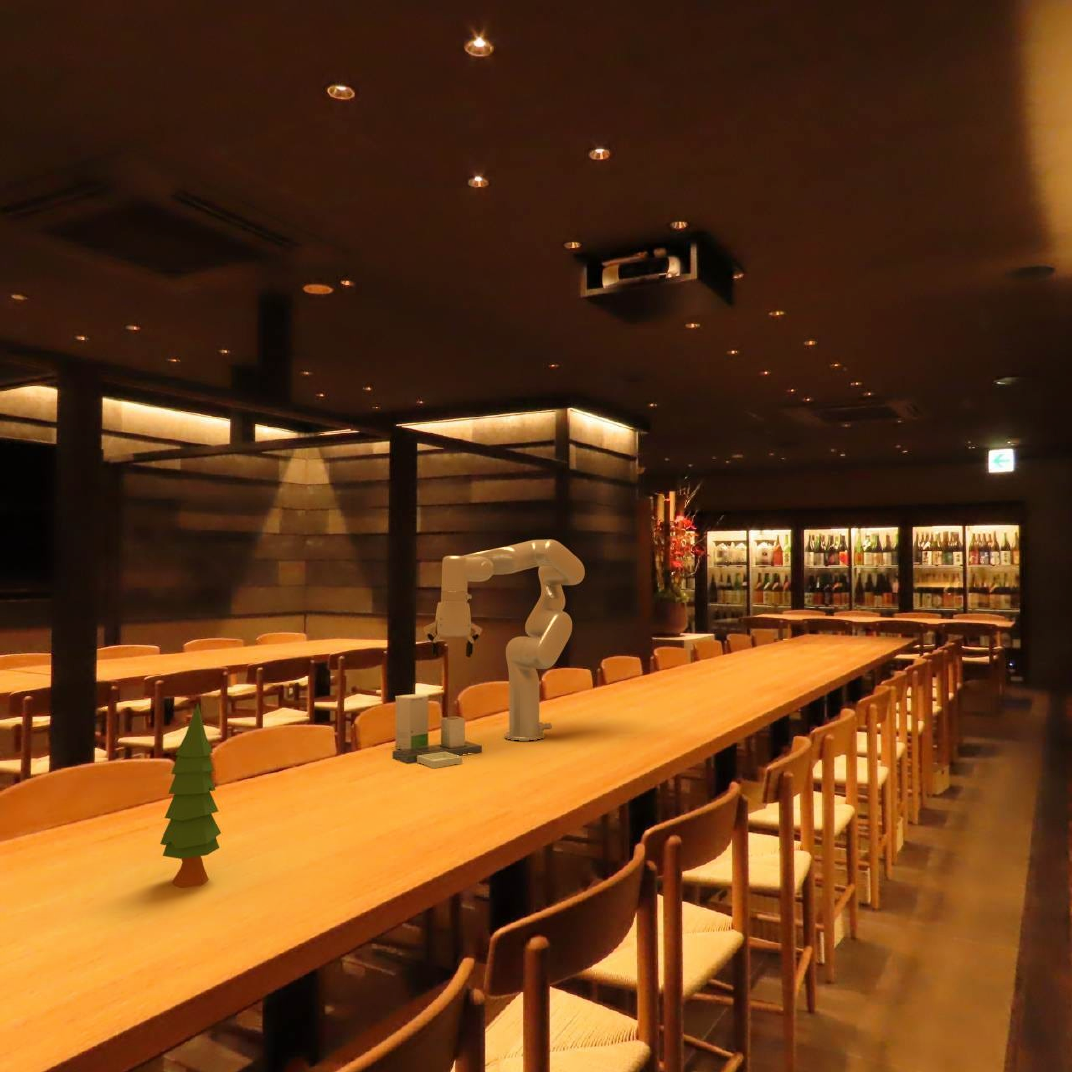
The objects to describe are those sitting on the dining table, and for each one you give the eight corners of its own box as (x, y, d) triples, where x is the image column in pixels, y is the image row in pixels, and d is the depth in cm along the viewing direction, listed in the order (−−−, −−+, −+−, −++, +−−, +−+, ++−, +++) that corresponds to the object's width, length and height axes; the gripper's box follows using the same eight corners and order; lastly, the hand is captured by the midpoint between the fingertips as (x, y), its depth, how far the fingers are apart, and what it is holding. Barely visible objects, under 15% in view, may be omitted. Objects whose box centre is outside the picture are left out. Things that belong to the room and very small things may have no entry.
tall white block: (455, 750, 261) (455, 715, 261) (464, 753, 257) (464, 717, 257) (440, 752, 258) (441, 717, 258) (449, 755, 254) (449, 719, 254)
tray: (445, 758, 250) (445, 751, 250) (462, 764, 243) (462, 757, 243) (416, 762, 245) (416, 755, 245) (433, 768, 238) (433, 761, 238)
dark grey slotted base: (465, 747, 265) (465, 740, 265) (481, 752, 258) (481, 745, 258) (392, 758, 251) (392, 750, 251) (407, 763, 244) (407, 755, 244)
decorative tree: (226, 872, 156) (228, 699, 158) (209, 891, 147) (211, 707, 148) (170, 872, 156) (172, 700, 157) (149, 892, 147) (151, 708, 148)
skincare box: (409, 751, 259) (409, 697, 260) (393, 749, 263) (393, 696, 264) (429, 747, 266) (429, 694, 267) (413, 744, 270) (414, 692, 271)
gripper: (479, 598, 268) (477, 656, 267) (422, 597, 263) (420, 655, 262) (485, 598, 261) (484, 657, 260) (427, 597, 256) (425, 657, 255)
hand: (452, 656), depth 261 cm, fingers open, 9 cm apart
